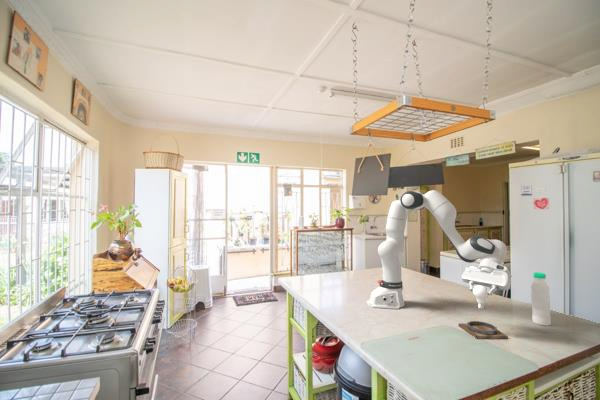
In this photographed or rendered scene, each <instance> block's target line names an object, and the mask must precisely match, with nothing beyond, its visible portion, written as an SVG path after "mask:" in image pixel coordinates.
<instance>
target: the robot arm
mask: <svg viewBox="0 0 600 400" xmlns="http://www.w3.org/2000/svg"><path fill="white" fill-rule="evenodd" d="M424 208H426V209H427V210H428V211H429V212H430V213H431V214H432V216H433V217H434V218H435V219H436V221H437V223H438V224H439V228H440V229H441V231H442V232H443V234H444V235H445V236H446V238H447V239H448V240H449V242H450V243H451V245H452V246H453V248H454V249H455V251H456V254H457V256H458V257H459V259H460V260H462V261H463V262H466V263H469V264H472V263H475V262H476V261H477V260H478V259H479V258H480V263H479V265H478V266H474V265H469V266H466V267H465V269H464V271H463V272H462V274H461V280H462V281H463V282H464V283H467V284H469V291H470V292H473V288H474V287H475V286H477V285H482V286H484V287H486V288H490V289H488V290H487V294H488V296H492V295H493V293H495V292H496V291H497V290H501V291H509V290H510V289H511V286H512V279H511V278H512V274H511V272H510V269H509V268H508V267H506V266H505V265H503V263H504V262H505V260H506V257H507V253H508V248H507V245H506V244H505V243H504V241H501V240H499V239H488V238H486V237H484V236H482V235H473V236H471V237H470V238H469V239H467V240H466V241H465V240H464V238H463V237H462V236H461V234H460V233H459V232H458V231H457V229H456V219H457V213H458V212H457V210H456V209H457V208H456V207H455V206H454V204H452V202H451V201H450V200H449V199H448V198H447V197H445V196H444V195H443V194H442V193H441V192H440V191H438V190H437V189H436V190H435V189H432V190H429V191H427V192H425V193H423V192H420V191H417V190H414V191H413V190H408V191H405V192H403V194H401V195H400V198H399V199H396V200H394V201H392V202H391V204H390V207H389V210H388V214H387V217H386V218H387V219H386V224H385V232H386V233H385V235H386V237H385V238H386V239H385V240H384V241H382V242H381V243H380V244H379V245H378V247H377V253H378V255H379V258H380V262H381V267H382V269H381V270H382V279H377V283H378V284H379V286H378V287H376V288H375V289H374V290H372V291H371V292H370V296H369V298H367V299H366V304H367V305H368V306H369V307H371V308H373V309H374V308H376V309H389V310H390V309H392V310H394V309H395V310H399V309H401V308H403V307H405V306H406V304H405V300H404V295H403V294H404V293H403V288H404V287H403V286H404V285H403V281H402V267H401V265H400V260H399V256H401V255H402V253H404V250H405V230H406V225H407V221H408V220H407V219H408V215H409V212H410V211H417V210H418V211H420V210H422V209H424Z"/></svg>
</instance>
